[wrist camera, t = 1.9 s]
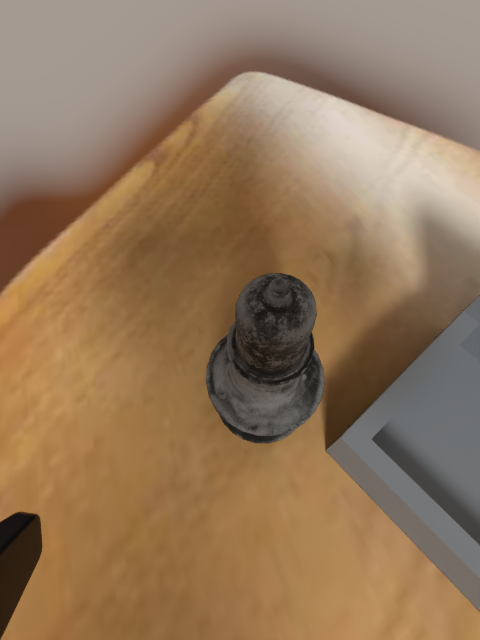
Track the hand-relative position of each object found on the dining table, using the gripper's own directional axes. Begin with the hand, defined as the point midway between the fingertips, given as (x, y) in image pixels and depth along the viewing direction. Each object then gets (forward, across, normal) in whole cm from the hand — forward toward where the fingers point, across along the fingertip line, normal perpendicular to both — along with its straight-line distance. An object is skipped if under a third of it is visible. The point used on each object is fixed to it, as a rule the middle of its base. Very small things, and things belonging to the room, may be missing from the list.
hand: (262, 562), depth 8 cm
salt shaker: (+15, 0, +4) cm, 15 cm away
